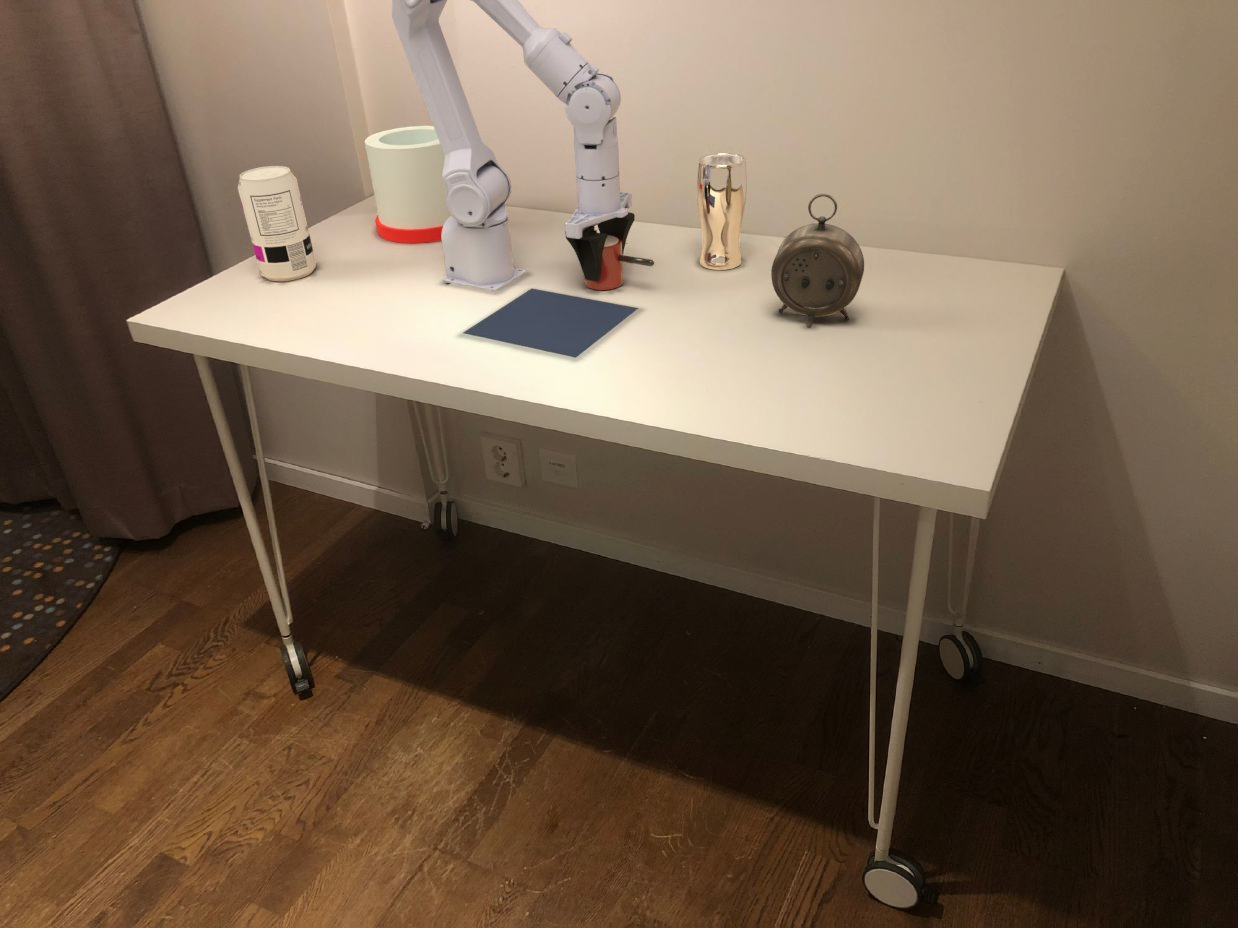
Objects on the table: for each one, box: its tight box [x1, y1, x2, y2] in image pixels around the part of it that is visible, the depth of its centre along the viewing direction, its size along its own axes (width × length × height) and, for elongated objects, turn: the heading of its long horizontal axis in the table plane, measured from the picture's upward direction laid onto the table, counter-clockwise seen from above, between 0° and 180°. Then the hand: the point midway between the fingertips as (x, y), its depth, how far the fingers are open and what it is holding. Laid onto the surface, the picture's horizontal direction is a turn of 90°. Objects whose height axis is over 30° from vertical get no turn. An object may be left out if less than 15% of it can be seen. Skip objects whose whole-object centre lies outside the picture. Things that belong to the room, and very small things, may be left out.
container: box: [364, 125, 452, 244], centre depth 152 cm, size 16×16×15 cm
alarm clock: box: [770, 193, 865, 328], centre depth 114 cm, size 11×5×16 cm, turn 71°
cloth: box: [462, 288, 639, 359], centre depth 122 cm, size 17×16×1 cm
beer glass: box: [696, 152, 748, 271], centre depth 133 cm, size 7×7×15 cm
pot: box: [584, 235, 655, 291], centre depth 128 cm, size 11×5×6 cm, turn 61°
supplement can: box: [237, 165, 317, 282], centre depth 137 cm, size 8×8×15 cm
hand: (603, 272), depth 130 cm, fingers closed on pot, 5 cm apart
